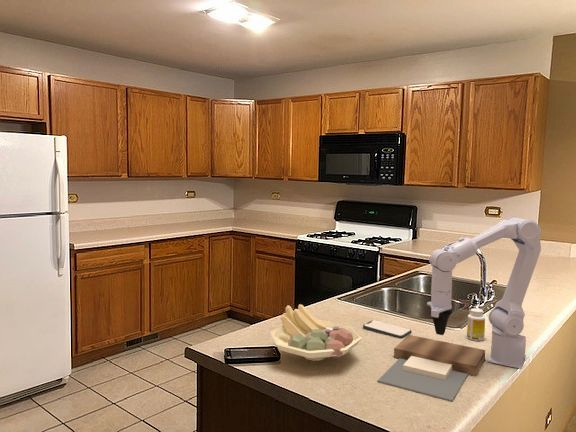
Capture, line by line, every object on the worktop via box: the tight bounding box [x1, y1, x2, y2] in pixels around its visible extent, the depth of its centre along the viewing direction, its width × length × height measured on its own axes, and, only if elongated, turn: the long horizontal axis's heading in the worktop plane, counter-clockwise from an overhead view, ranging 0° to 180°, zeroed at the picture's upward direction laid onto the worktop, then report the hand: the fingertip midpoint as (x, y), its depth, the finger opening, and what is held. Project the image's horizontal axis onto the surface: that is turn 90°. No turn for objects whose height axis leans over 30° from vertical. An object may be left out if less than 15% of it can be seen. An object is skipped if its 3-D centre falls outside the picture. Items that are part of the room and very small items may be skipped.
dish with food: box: [269, 303, 362, 362], centre depth 144 cm, size 28×28×14 cm
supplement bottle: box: [466, 307, 486, 342], centre depth 160 cm, size 6×6×10 cm
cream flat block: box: [403, 356, 452, 380], centre depth 135 cm, size 12×8×2 cm, turn 58°
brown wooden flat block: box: [393, 334, 486, 377], centre depth 144 cm, size 24×14×3 cm, turn 57°
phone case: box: [362, 319, 412, 339], centre depth 169 cm, size 9×2×16 cm
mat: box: [377, 358, 469, 402], centre depth 130 cm, size 20×18×1 cm
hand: (440, 334), depth 140 cm, fingers closed
